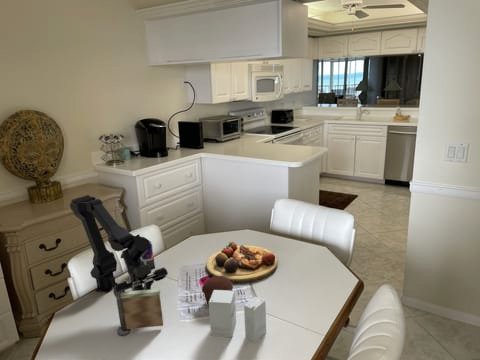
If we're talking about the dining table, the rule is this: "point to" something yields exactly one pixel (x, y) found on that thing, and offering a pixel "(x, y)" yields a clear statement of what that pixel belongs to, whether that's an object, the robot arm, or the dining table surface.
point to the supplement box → (222, 313)
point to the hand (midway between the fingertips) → (149, 304)
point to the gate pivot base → (123, 332)
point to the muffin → (216, 286)
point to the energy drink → (148, 255)
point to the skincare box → (255, 318)
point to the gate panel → (139, 309)
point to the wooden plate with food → (242, 263)
